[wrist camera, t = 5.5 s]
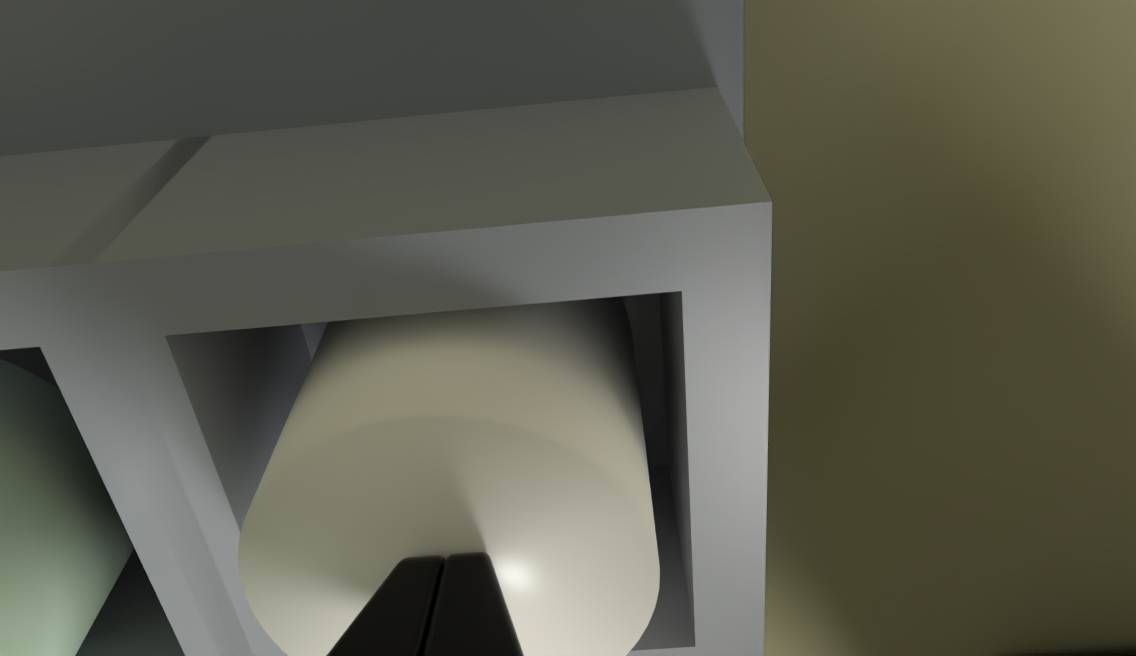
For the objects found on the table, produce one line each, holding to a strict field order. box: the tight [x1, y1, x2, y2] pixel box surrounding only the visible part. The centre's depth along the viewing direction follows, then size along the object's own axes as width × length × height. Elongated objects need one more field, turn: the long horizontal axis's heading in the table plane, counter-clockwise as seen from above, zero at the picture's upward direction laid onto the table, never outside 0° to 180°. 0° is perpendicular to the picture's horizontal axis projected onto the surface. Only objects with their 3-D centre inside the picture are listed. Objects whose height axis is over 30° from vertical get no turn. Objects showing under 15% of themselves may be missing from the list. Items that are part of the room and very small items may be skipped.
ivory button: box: [238, 296, 660, 656], centre depth 11 cm, size 4×4×4 cm
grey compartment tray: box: [0, 0, 772, 656], centre depth 12 cm, size 19×13×4 cm
